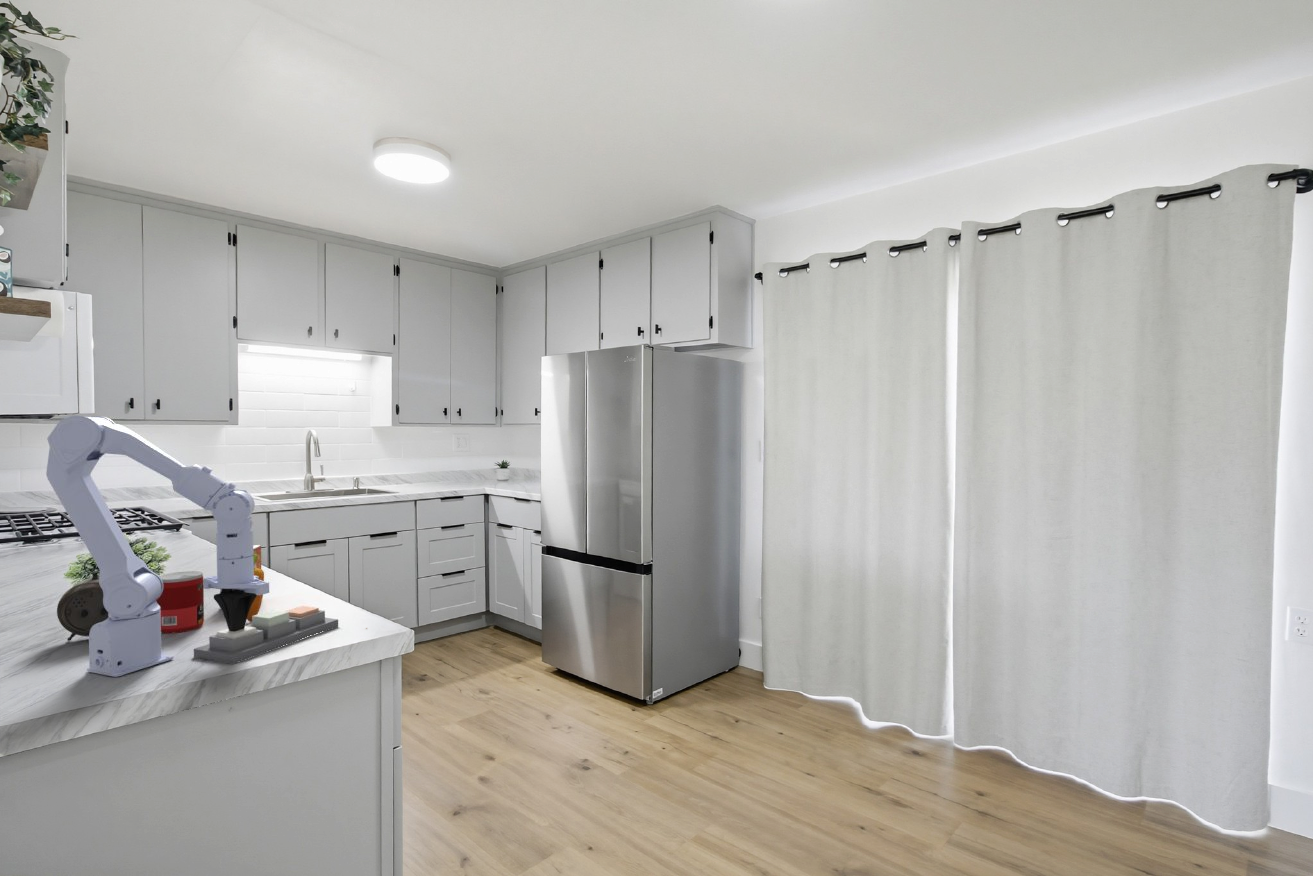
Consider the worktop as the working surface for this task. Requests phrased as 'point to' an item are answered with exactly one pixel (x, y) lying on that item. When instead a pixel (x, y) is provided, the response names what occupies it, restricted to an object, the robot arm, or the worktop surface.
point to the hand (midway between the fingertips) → (236, 630)
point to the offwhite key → (236, 632)
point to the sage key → (270, 618)
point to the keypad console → (264, 638)
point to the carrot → (257, 601)
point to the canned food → (181, 601)
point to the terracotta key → (302, 611)
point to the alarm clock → (82, 606)
